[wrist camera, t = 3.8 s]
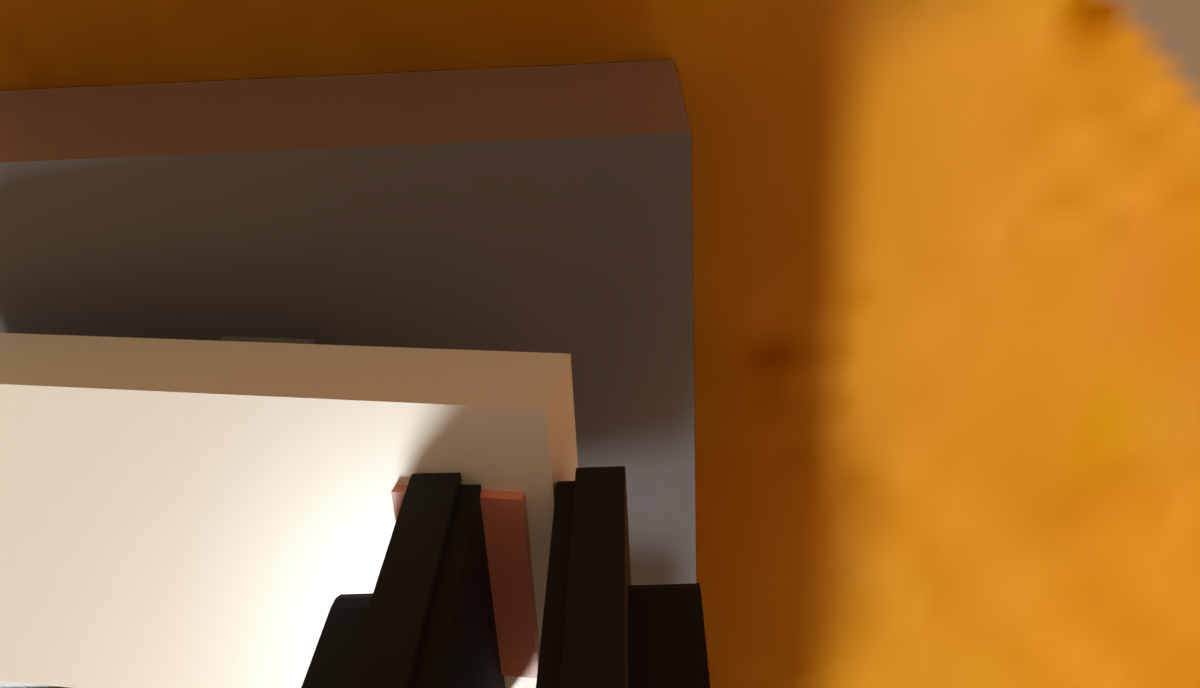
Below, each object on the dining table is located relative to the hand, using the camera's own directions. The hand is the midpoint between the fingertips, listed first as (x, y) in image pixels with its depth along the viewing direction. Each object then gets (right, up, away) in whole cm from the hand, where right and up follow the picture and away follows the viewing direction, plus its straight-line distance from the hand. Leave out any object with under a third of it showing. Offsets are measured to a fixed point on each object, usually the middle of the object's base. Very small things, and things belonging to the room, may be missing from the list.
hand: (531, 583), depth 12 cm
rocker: (-3, +1, +2) cm, 4 cm away
